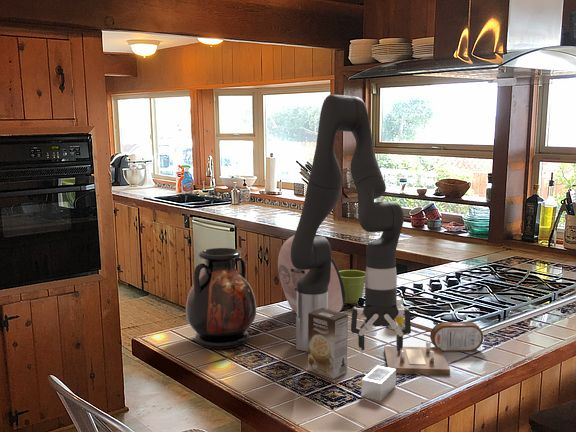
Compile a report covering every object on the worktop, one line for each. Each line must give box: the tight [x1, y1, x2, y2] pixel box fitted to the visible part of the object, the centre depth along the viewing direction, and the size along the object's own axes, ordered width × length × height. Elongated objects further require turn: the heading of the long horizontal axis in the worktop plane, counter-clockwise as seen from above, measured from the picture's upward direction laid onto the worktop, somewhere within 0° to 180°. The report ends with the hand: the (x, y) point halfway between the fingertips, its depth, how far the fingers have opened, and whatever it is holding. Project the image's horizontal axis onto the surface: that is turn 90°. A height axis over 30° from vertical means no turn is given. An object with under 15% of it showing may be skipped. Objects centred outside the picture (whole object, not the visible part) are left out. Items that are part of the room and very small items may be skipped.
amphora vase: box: [185, 247, 257, 350], centre depth 179 cm, size 22×22×28 cm
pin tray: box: [383, 341, 451, 376], centre depth 162 cm, size 16×16×4 cm
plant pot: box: [339, 269, 366, 304], centre depth 219 cm, size 12×12×11 cm
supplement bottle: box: [386, 296, 405, 329], centre depth 191 cm, size 5×5×10 cm
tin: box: [429, 321, 484, 353], centre depth 170 cm, size 15×3×8 cm, turn 91°
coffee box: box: [307, 308, 349, 380], centre depth 155 cm, size 9×6×16 cm
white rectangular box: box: [361, 365, 397, 402], centre depth 144 cm, size 5×10×5 cm, turn 149°
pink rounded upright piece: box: [277, 234, 346, 314], centre depth 201 cm, size 22×20×30 cm
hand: (380, 349), depth 143 cm, fingers open, 8 cm apart
